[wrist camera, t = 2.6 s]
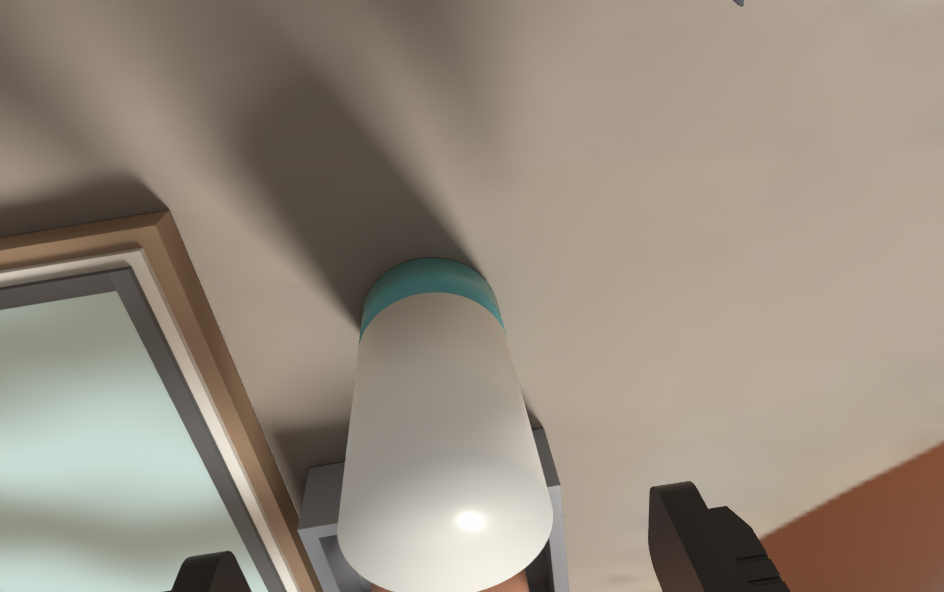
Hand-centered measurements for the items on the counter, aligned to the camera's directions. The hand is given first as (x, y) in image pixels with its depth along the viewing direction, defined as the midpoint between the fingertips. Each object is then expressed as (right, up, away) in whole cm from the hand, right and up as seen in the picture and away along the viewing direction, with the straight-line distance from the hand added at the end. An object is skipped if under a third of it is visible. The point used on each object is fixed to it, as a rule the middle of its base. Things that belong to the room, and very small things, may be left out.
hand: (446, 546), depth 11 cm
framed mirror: (-11, -2, +8) cm, 14 cm away
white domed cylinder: (-1, +4, +6) cm, 7 cm away
